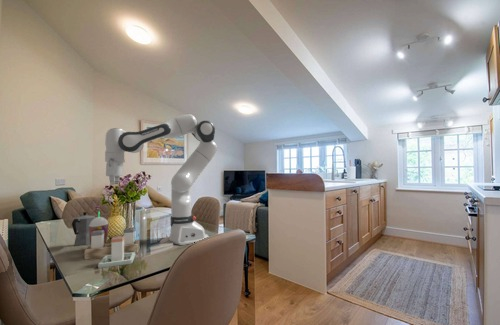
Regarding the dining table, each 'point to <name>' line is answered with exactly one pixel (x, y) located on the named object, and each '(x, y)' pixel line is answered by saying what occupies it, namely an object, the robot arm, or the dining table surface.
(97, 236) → the block
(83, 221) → the coffeepot
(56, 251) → the dining table surface
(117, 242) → the block
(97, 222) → the smoothie
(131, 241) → the block
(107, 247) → the socket strip
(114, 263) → the tray
